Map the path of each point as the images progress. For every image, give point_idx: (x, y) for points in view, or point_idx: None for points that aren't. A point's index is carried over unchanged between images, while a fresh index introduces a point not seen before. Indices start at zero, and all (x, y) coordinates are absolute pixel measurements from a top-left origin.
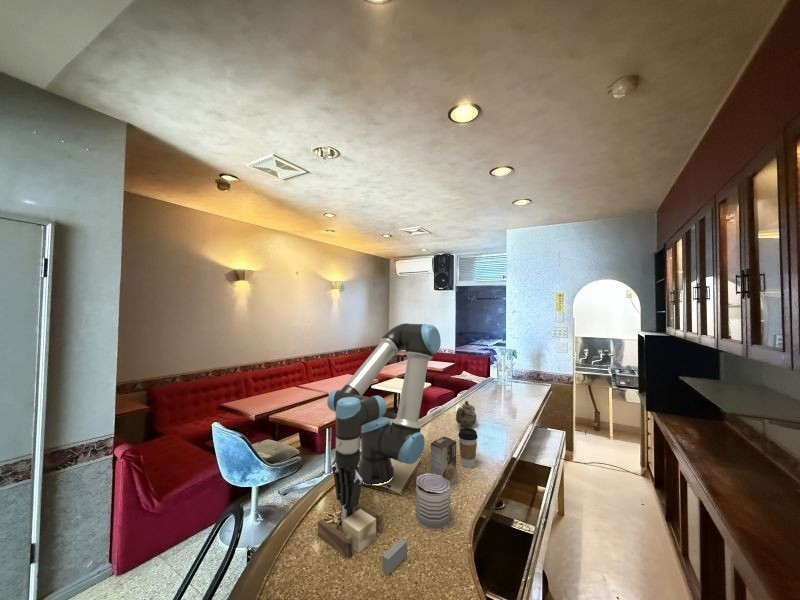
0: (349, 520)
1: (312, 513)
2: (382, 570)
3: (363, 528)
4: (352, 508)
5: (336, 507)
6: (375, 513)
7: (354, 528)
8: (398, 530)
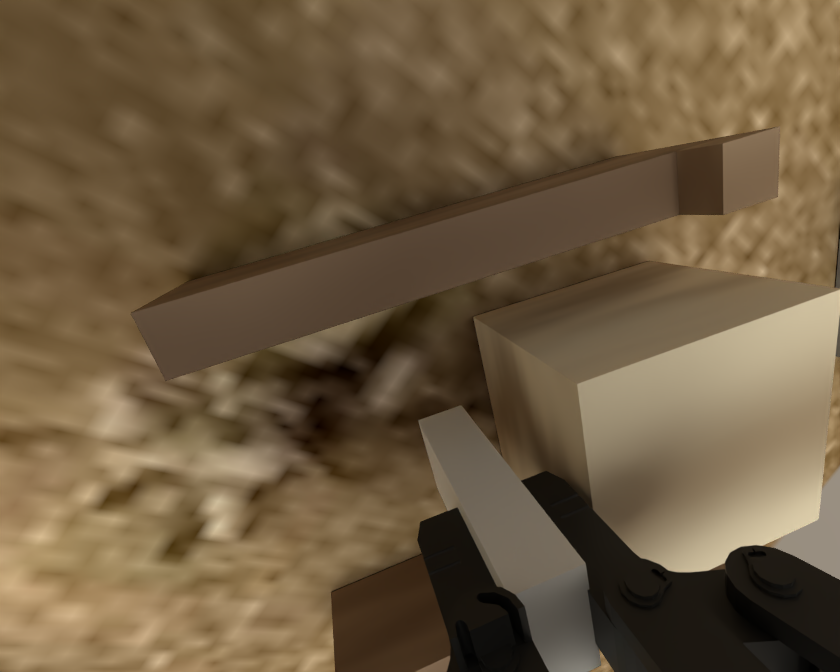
0: (653, 559)
1: (6, 638)
2: (835, 355)
3: (816, 464)
4: (622, 547)
5: (4, 409)
6: (622, 169)
7: (765, 541)
8: (709, 21)
